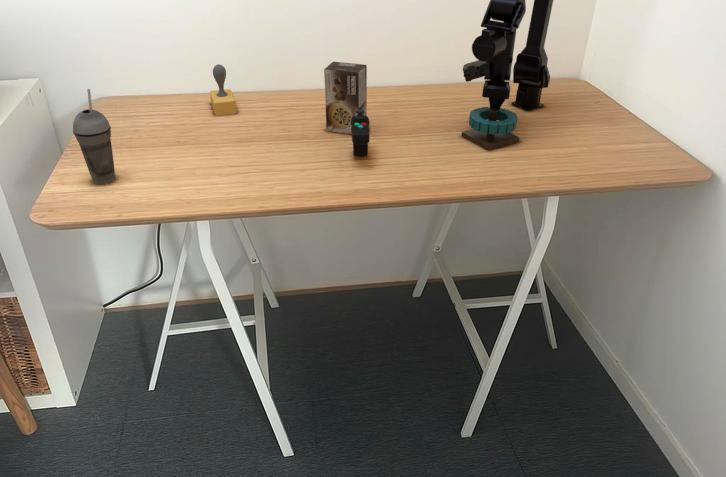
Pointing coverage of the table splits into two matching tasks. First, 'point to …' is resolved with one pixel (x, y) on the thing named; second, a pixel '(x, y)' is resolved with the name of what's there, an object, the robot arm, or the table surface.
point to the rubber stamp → (222, 94)
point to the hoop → (502, 126)
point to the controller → (360, 133)
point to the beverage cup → (95, 144)
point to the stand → (490, 135)
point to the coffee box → (344, 94)
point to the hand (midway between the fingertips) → (493, 114)
